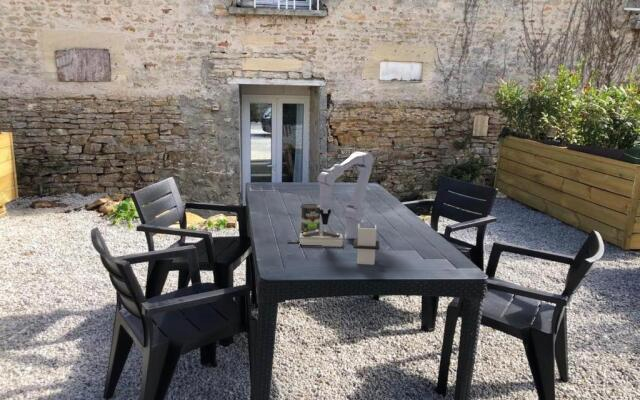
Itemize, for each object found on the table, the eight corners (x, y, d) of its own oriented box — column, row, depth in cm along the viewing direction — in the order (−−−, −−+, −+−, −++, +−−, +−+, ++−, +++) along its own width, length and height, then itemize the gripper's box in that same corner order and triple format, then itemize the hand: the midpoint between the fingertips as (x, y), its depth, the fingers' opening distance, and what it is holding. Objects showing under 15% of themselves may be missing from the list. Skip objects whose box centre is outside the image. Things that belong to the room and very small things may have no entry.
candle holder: (392, 254, 218) (394, 220, 214) (395, 273, 194) (398, 235, 190) (338, 251, 220) (339, 218, 216) (335, 270, 196) (336, 233, 193)
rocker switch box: (341, 240, 235) (341, 233, 235) (342, 246, 227) (342, 238, 226) (288, 239, 235) (288, 232, 234) (287, 245, 227) (287, 237, 226)
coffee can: (322, 233, 247) (322, 207, 244) (303, 234, 244) (303, 208, 241) (317, 228, 257) (317, 203, 254) (298, 229, 254) (299, 204, 251)
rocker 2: (338, 236, 232) (339, 233, 232) (338, 238, 228) (339, 235, 228) (322, 232, 232) (323, 229, 232) (322, 234, 228) (323, 231, 228)
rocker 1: (319, 232, 232) (318, 228, 232) (319, 234, 228) (318, 231, 228) (303, 235, 232) (303, 232, 232) (303, 238, 228) (302, 234, 228)
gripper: (317, 193, 233) (316, 220, 236) (317, 200, 219) (316, 228, 222) (331, 194, 233) (330, 220, 236) (332, 200, 219) (331, 228, 222)
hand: (324, 224), depth 229 cm, fingers closed
